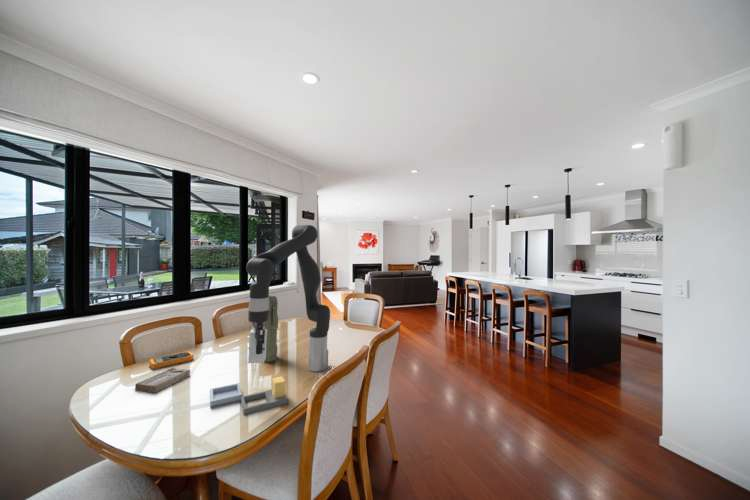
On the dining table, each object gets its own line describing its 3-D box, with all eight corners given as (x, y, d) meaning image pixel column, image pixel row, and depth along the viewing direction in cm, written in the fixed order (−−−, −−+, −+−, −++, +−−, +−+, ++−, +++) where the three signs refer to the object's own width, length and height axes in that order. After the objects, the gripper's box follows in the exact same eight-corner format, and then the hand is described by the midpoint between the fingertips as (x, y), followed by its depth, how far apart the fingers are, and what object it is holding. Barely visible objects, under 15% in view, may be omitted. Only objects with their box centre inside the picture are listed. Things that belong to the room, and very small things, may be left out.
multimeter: (194, 360, 150) (194, 354, 150) (152, 370, 137) (152, 363, 137) (189, 356, 156) (190, 350, 156) (149, 365, 143) (149, 358, 143)
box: (134, 391, 118) (134, 383, 118) (172, 373, 135) (172, 367, 135) (154, 394, 116) (154, 386, 116) (190, 376, 133) (190, 369, 133)
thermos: (267, 364, 147) (269, 298, 147) (255, 358, 154) (257, 296, 154) (282, 359, 155) (284, 296, 155) (269, 354, 162) (271, 294, 162)
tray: (239, 388, 122) (239, 382, 122) (241, 400, 113) (242, 394, 113) (209, 394, 116) (210, 388, 116) (210, 408, 107) (210, 401, 107)
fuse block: (281, 392, 120) (282, 373, 120) (287, 403, 112) (287, 383, 112) (240, 401, 112) (241, 381, 112) (243, 414, 103) (244, 393, 103)
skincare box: (247, 363, 107) (248, 332, 107) (250, 359, 112) (251, 329, 112) (264, 362, 109) (265, 332, 109) (266, 358, 113) (267, 328, 113)
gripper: (272, 311, 106) (271, 355, 106) (265, 304, 118) (264, 344, 118) (251, 313, 102) (250, 359, 102) (246, 306, 114) (245, 347, 114)
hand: (257, 351), depth 110 cm, fingers closed on skincare box, 5 cm apart
